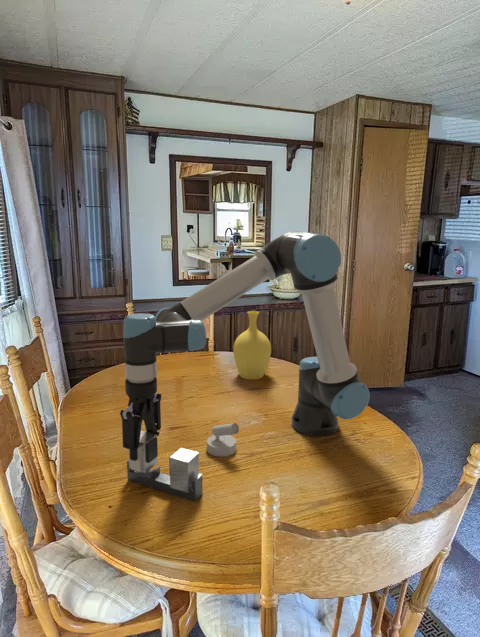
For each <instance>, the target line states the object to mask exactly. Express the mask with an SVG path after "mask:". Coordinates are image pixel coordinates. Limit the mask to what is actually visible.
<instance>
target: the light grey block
mask: <svg viewBox="0 0 480 637" xmlns="http://www.w3.org/2000/svg"><path fill="white" fill-rule="evenodd" d="M139 446H140V447H141V457H142V471H141V472H144V473H146V472H148V471H149V470H152V468H154V467H156V465H157V464H158V456H159V455H158V447H159V446H158V436H157V435H156V434H153V433H149V432H146V430H141V433H140V441H139ZM128 460H129V468H131V460H130V449H128Z"/></svg>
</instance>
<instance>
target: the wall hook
mask: <svg viewBox="0 0 480 637" xmlns="http://www.w3.org/2000/svg"><path fill="white" fill-rule="evenodd" d="M239 431H240V427H239V425H238V424H237V423H236V422H234V423H233V422H232V423H227V424H225V423H224V424H220V425H219V424H218V425H215V426H213V427H212V430H211V432H212V435H211V436H209V437H208V438H207V439H206V452H208V454H210V455H212V456H215V457H228V456H232V455H233V454H234V453H235V452H236V451H237V439H236V437H234V436H233V435H237V434H239Z"/></svg>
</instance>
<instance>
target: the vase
mask: <svg viewBox="0 0 480 637" xmlns="http://www.w3.org/2000/svg"><path fill="white" fill-rule="evenodd" d="M259 314H260V312H259V311H257V310H248V311H247V315H248V316H247V317H248V318H249V325H248V328H247V329H246V330H245V331H243V332H242V333H241V334H239V335H238V336H237V337H236V339H235V340H234V343H233V347H232V348H233V349H232V350H233V358H234V361H235V365H236V369H237V372H238V374H239V376H240V377H241V378H243V379H246V380H260V379H262V378H263V377H264V376H265V373H266V371H267V368H268V365H269V362H270V359H271V354H272V343H271V341H270V340H269V338H268V337H267V335H265V333H264V332H262V331H260V330H259V329H258V326H257V318H258V316H259Z"/></svg>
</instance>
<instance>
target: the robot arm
mask: <svg viewBox="0 0 480 637" xmlns="http://www.w3.org/2000/svg"><path fill="white" fill-rule="evenodd" d="M341 264H342V254H341V250H340V247H339V245H338V244H337V242H335V240H334V239H332V238H331V237H330V236H328V235H325V234H322V233H319V232H303V231H302V232H301V231H289V232H286V233H284V234H282V235H280V236H277V237H276V238H274V239H273V240H272V241H270V242H268V243H267V244H265V245H263V246H262V247H260V248H259V249H257V250H255V251H254V255H253V256H252V257H251V258H250V259H248V260H246V261H245V262H242V264H239V265H238V266H236V267H234V268H233V269H232V270H230V271H228V272H227V273H225V274H223V275H222V276H221V277H219V278H217V279H216V280H214V281H213V282H211V283H209V284H208V285H206V286H204V287H202V288H201V289H200V290H197V292H194V293H193V294H191V295H189V296H188V297H186V298H184V299H183V300H182V301H179V302H178V303H177V304H175V305H173V306H171V307H164V308H161V309H160V310H158V311H157V313H156V314H155V315H154V314H151V313H143V312H142V313H140V312H139V313H132V314H128V315H127V316H125V317H124V319H123V328H122V329H123V332H122V338H123V356H124V378H125V380H124V382H125V383H124V384H125V387H124V388H125V390H124V391H125V395H126V396H127V397H128V403H127V407H126V408H125V409H124V410H123V409H121V410H120V412H119V414H120V418H121V427H122V428H121V430H122V432H121V433H122V447H123V448H124V449H127V450H129V449H130V460H131V470H135V471H138V472H141V471H142V457H141V447H140V446H139V441H140V433H141V431H142V425H143V424H142V423H144V428H145V432H149V433H153V434H156V435H157V437H159V435H160V430H161V429H162V422H161V421H162V417H161V416H162V414H161V413H162V412H161V410H162V409H161V401H162V393H157V392H158V378H157V376H158V366H157V364H158V363H157V354H167V353H179V352H180V353H181V352H192V351H200V350H203V349H204V347H205V346H206V342H207V332H206V326H205V323H204V322H203V321H204V320H206V319H207V318H208V317H210V316H211V315H213V314H215V313H216V312H218V311H219V310H221V309H223V308H225V307H226V306H228V305H229V304H231V303H233V302H234V301H235V300H238V299H239V298H240V297H242V296H244V295H245V294H247V293H248V292H250V291H252V290H253V289H254V288H255V289H256V287H258V286H259V285H261V284H263V283H264V282H266V281H268V280H270V281H275V280H276V279H277V278H278V277H281V276H283V275H287V274H290V275H291V276H290V277H291V279H292V283H293V288H294V289H295V291H297V292H299V293H300V294H301V295H302V296H301V297H302V301H303V305H304V308H305V312H306V313H305V314H306V316H307V320H308V325H309V329H310V333H311V338H312V341H313V346H314V348H315V349H314V350H315V354H316V356H309V357H304V358H302V359H301V360H300V362H299V368H298V371H299V372H298V394H297V395H298V396H297V402H296V405H295V407H294V410H293V412H292V414H291V426H292V427H293V429H294V430H296V431H297V432H299V433H302V434H304V435H307V436H313V437H314V436H315V437H325V436H330V435H333V434H335V433H336V432H337V431H338V429H339V418H340V419H342V420H351V419H354V418H357V417H358V416H360V415H361V414H362V413H363V412H364V411H365V409H366V407H367V406H368V405H369V402H370V399H371V398H370V396H371V393H370V390H369V388H368V387H367V385H366V384H365V383H364V382H361V381H360V376H359V373H358V368H357V366H356V365H355V364H354V363H352V362H351V361H350V357H349V356H350V355H349V353H348V347H347V344H346V338H345V334H344V329H343V324H342V321H341V315H340V311H339V307H338V306H339V305H338V303H337V302H338V301H337V296H336V293H335V288H334V285H335V284H336V282H337V281H338V279H339V278H338V274H337V273H338V272H339V271H340V270H339V268H340V266H341Z"/></svg>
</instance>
